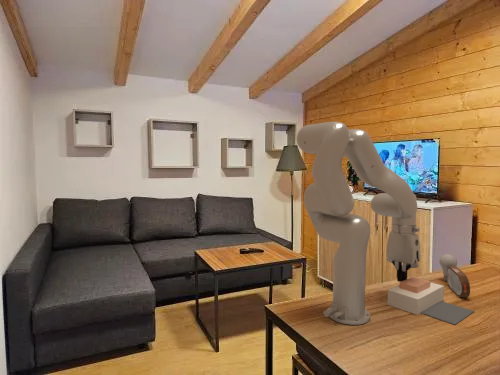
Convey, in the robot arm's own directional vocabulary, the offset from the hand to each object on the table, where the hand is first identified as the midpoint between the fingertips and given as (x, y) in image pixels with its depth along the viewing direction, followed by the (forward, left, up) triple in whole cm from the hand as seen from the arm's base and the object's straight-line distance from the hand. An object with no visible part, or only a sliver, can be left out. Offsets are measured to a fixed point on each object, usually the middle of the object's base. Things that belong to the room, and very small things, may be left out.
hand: (401, 281), depth 120 cm
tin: (+20, -10, -6) cm, 23 cm away
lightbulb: (+29, -3, -6) cm, 30 cm away
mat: (0, -15, -6) cm, 16 cm away
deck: (0, -5, -6) cm, 8 cm away
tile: (0, -5, -1) cm, 5 cm away
